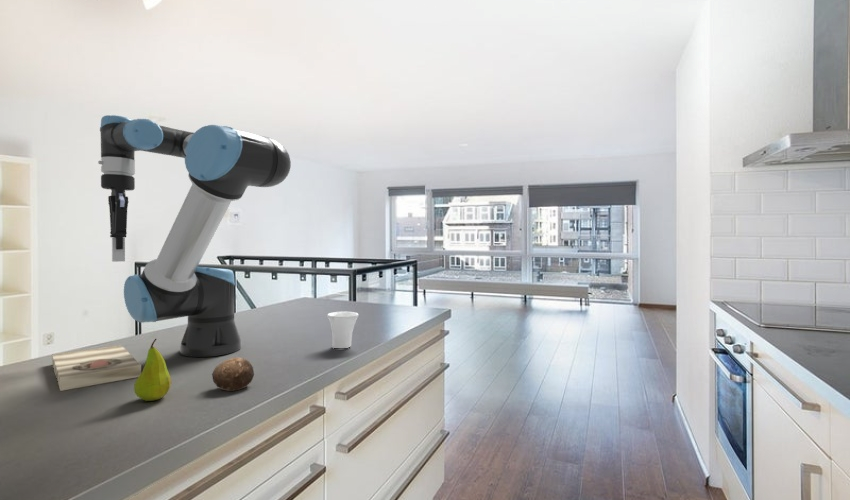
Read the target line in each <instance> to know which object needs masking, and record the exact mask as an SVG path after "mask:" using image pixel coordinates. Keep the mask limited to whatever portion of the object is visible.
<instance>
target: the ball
mask: <svg viewBox="0 0 850 500" xmlns="http://www.w3.org/2000/svg"><path fill="white" fill-rule="evenodd" d="M107 365H109V364H108V362H107V361H106V360H103V359H98V360H96V361H94V362H93V363H92V364H91V365H90V368H96V367H103V366H107Z"/></svg>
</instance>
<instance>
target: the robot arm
mask: <svg viewBox="0 0 850 500" xmlns="http://www.w3.org/2000/svg"><path fill="white" fill-rule="evenodd" d="M99 132H100V160H98V163H97V164H99V165H101V166H100V171H101V173H103V174H101V175H100V187H101V188H102V189H103V190H104V189H105V190H111V192H110V193H111V194H110V195H108V197H107V199H108V206H109V207H108V208H109V224H110V232H109V233H110V235H109V237H110V238H111V261H112V262H126V238H127V234H128V233H127V232H128V231H127V228H128V227H127V226H128V224H127V223H128V207H129V196H126V192H127V191H129V192H130V191H134V190H135V187H136V186H135V183H136V181H135V177H134V175H135V174H136V173H135V172H136V163H135V162H136V160H135V152H138V151H140V152H148V153H152V154H153V153H154V154H159V155H165V156H172V157H176V158H183V159H184V164H185V165H184V166H185V169H186V171H187V172H188V174H187V175H188V179H189V181H190V182H191V186H190V188H189V190H188V192H187V194H186V197H185V198H184V200H183V203H182V205H181V207H180V209H179V211H178V212H177V213H178V214H177V215H176V218H175V219H174V222H173V224H172V226H171V229H170V230H169V233H168V234H167V237H166V239H165V241H164V243H163V245H162V247H161V249H160V252H159V254H158V256H157V258H156V259H152V260H151V261H150V260H149V261H148V262H147V263H146V264H145V266H144V268H143V271H142V272H141V274H137V273H136V274H133V275H130V276H128V277H127V278H126V279H125V281H124V284H123V285H124V286H123V298H124V303H125V307H126V309H127V312H128V314H129V316H130V317H131V318H132V319H133V320H134V321H136V322H138V323H143V324H144V323H157V322H160V321H165V320H172V319H177V318H179V319H180V318H184V317H187V326H186V328H185V330H184V334H183V337H182V340H181V343H180V345H179V346H180V347H179V348H180V354H181V355H182V356H184V357H192V358H193V357H195V358H204V357H205V358H207V357H216V356H222V355H223V356H224V355H228V354H232V353H235V352H237V351H240V349H241V348H242V339H241V335H240V334H239V330H238V328H237V325H236V322H235V286H236V282H235V273H234V272H233V270H231V269H230V268H219V267H217V268H215V267H206V266H205V267H204V266H199V264H200V263H201V261H202V258H203V257H204V255H205V253H206V251H207V248H208V247H209V245H210V243H211V241H212V239H213V237H214V235H215V234H216V231H217V230H218V228H219V226H220V224H221V222H222V220H223V218H224V216H225V214H226V212H227V210H228V208H229V207H230V206H231V205H230V204H231V203H232V202H233V201H234V202H235V201H239V200H240V199H241V198H242V197H243V196H244V193H245V191H246V189H247V188H248V187H257V188H271V187H275V186H277V185H279V184H282V182H283V181H284V180H285V179H286V178H287V177H288V175H289V174H290V170H291V165H292V164H291V157H290V155H289V152H288V150H287V149H286V148H285V146H283V144H281V143H280V142H279V141H277V140H275V139H273V138H270V137H267V136H263V135H259V134H254V133H251V132H248V131H247V132H246V131H244V130H239V129H235V127H234V128H233V127H231V126H228V125H216V124H208V125H204V126H201V127H200V128H199V129H197V130H196V131H195V132H194V131H193V132H191V131H186V130H182V129H179V128H178V129H176V128H171V127H167V126H164V125H159V124H158V123H157V122H155V121H154V120H152V119H149V118H148V119H147V118H136V119H131V118H129V117H127V116H122V115H115V114H113V115H103V116H102V117H101V120H100V127H99Z"/></svg>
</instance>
